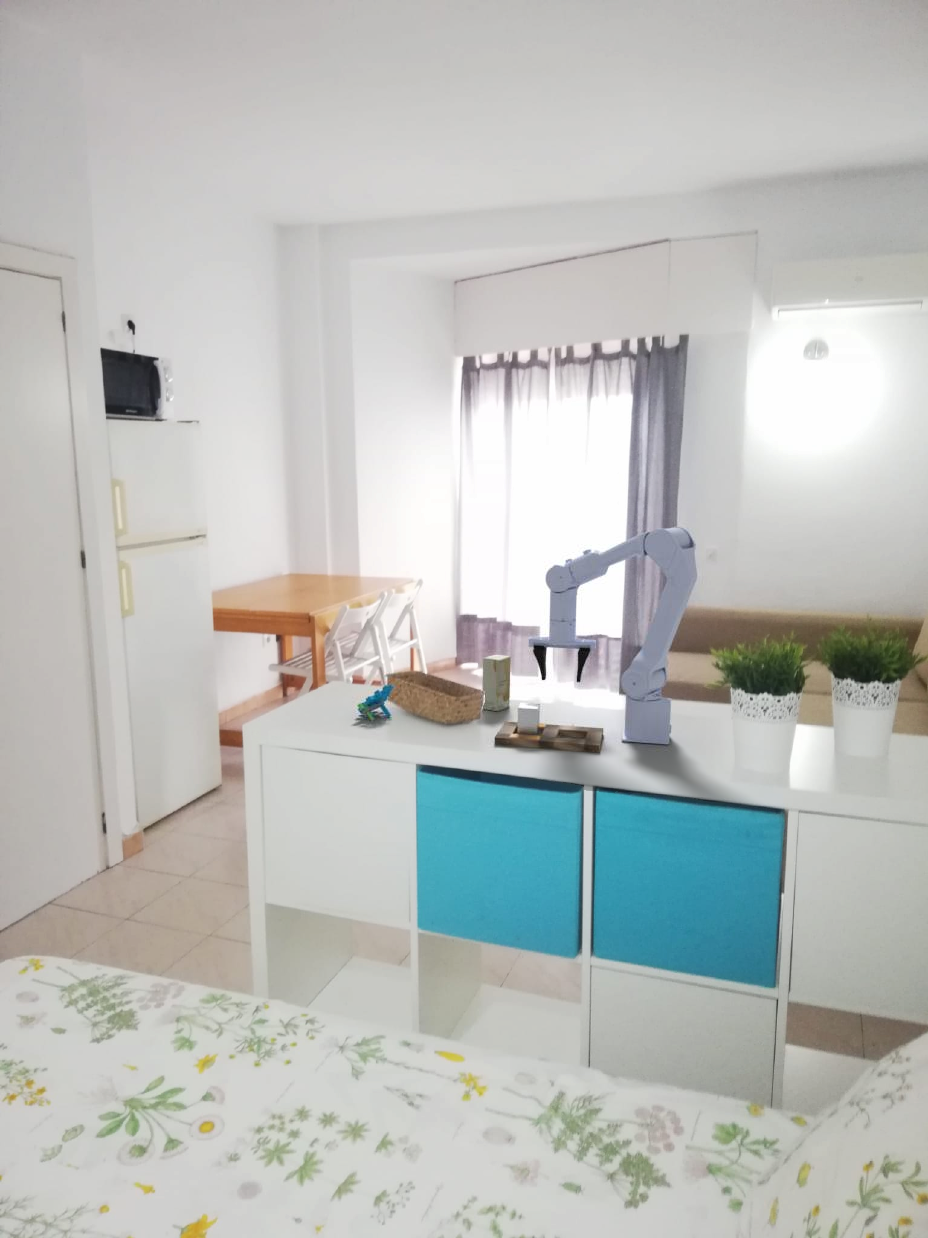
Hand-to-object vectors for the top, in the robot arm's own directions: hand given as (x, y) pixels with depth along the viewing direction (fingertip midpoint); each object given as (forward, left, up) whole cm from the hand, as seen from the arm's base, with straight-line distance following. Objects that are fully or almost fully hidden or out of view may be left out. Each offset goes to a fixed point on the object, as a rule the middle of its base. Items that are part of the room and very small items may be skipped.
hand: (561, 680), depth 188 cm
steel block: (+5, +14, -10) cm, 18 cm away
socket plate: (+1, +14, -9) cm, 17 cm away
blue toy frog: (+41, +6, -10) cm, 43 cm away
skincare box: (+16, -8, -10) cm, 20 cm away
